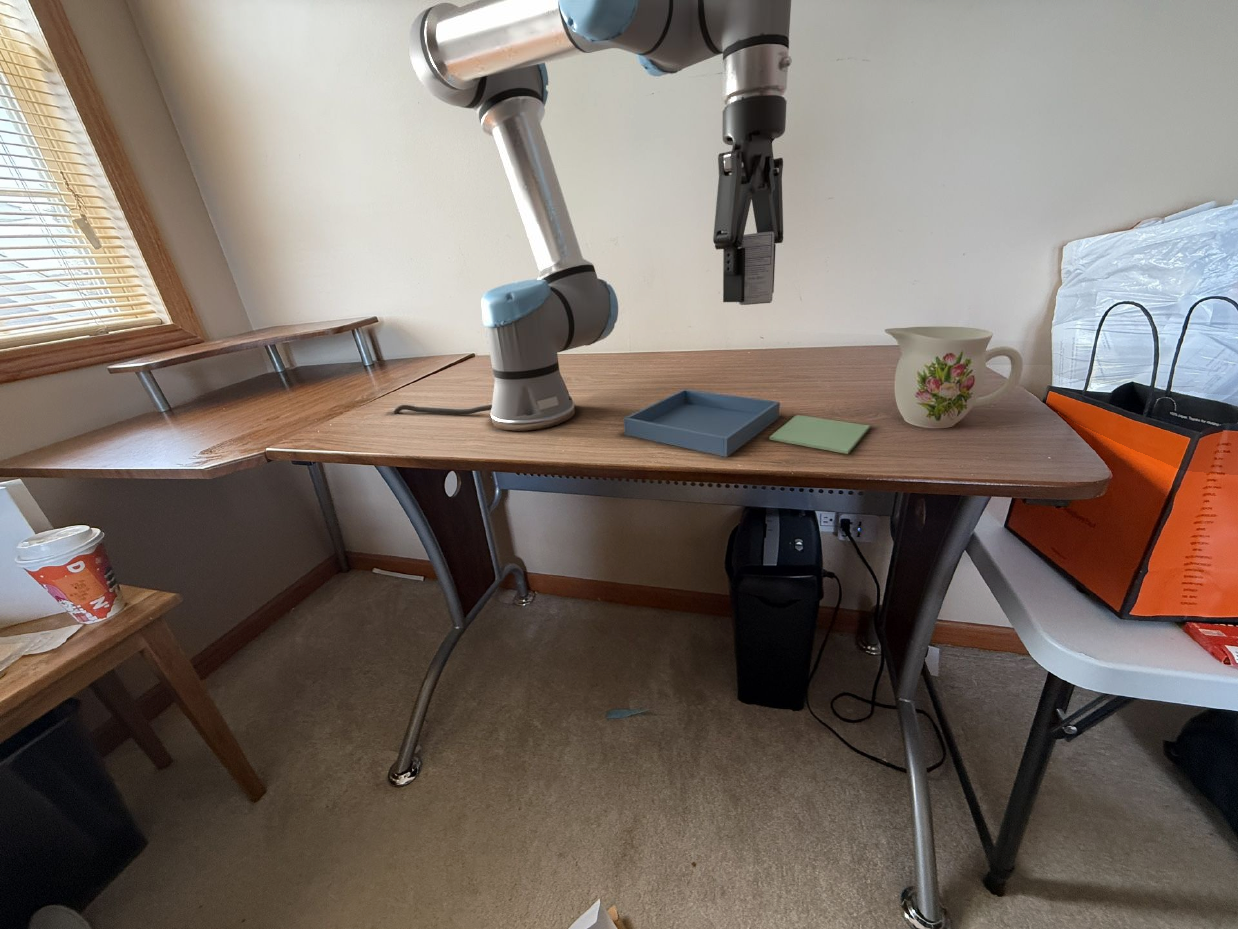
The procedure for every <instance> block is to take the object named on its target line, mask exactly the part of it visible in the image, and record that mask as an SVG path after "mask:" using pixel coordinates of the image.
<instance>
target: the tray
mask: <svg viewBox="0 0 1238 929" xmlns="http://www.w3.org/2000/svg"><path fill="white" fill-rule="evenodd" d="M780 406H781V401H777V400H770V399H761V398H755V397H748V396H739V395H733V394H732V395H731V394H724V393H717V392H710V391H702V390H695V389H686V388H683V389H681V390H679V391H677V392H675V393H673V394H671V395H669V396H666V397H665V398H663V399H661V400H658V401H657V402H655V403H652V404H650V405H649V406H646V407H644V408H642V409H640V410H638V411H635V412H634V413H631V414H630V415H628V416H625V417H623V428H624V436H628V437H632V438H638V439H643V440H646V441H651V442H657V443H661V444H665V445H669V446H675V447H680V448H683V449H688V450H693V451H698V452H702V453H706V454H711V455H716V456H721V457H725V458H728V457H729V456H731V455H732V454H733V453H735V452H736V451H738V449H740V448H741V447H742V446H744V445H745V444H746V443H748V442H749V441H751V440H752V439H753V438H754V437H756V436H757V435H759V433H761V432H763V431H764V430H765V429H766V428H767V427H769V426H770V425H772V424H773V423H775V422H776V421H777V420H778V419H779V418H780Z"/></svg>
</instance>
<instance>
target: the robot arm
mask: <svg viewBox="0 0 1238 929" xmlns="http://www.w3.org/2000/svg"><path fill="white" fill-rule="evenodd" d="M791 10H792V0H475V1H473V2H470V3H467V4H465V5H461V6H458V5H456V4H453V3H451V2H441V3H438V4H435V5H432V6H430V7H428V8H426V9H424V10H422V11H421V12H420V13H419V14H418V15H417V17H415V18H414V20H413V22H412V24H411V27H410V30H409V33H408V41H407V42H408V53H409V59H410V62H411V65H412V68H413V70H414V72H415V74H416V77H417V78H418V79H419V81H420V82H421V84H422V86H423V87H424V88H425V89H427V91H428V92H429V93H430V94H431V95H432V96H434V97H435V98H436V99H438V100H439V101H441V102H443V103H446V104H448V105H451V106H453V107H460V108H463V109H464V108H465V109H469V110H474V111H475V112H476V115H477V117H478V120H479V123H480V126H481V129H482V131H483V132H484V133H485V135H487V136H488V137H490V138H493V139H494V142H495V143H496V146H497V150H498V152H499V155H500V156H499V157H500V159H501V162H502V165H503V168H504V170H505V171H504V172H505V174H506V178H507V179H508V183H509V185H510V189H511V191H512V195H513V197H514V199H515V200H514V201H515V203H516V207H517V210H518V213H519V216H520V218H521V221H522V224H523V228H524V230H525V233H526V236H527V239H528V242H529V246H530V248H531V252H532V254H533V257H534V260H535V263H536V266H537V269H538V276H537V278H536V279H527V280H526V279H525V280H521V281H517V282H511V283H505V284H503V285H499V286H497V287H494V288H492V289H489V290H487V291H486V292H485V293H484V294H483V296H482V297H481V299H480V301H481V302H480V305H481V316H482V319H481V320H482V324H483V326H484V331H485V336H486V342H487V346H488V351H489V352H488V353H489V358H490V363H491V368H492V374H493V378H494V387H493V393H492V401H491V404H487V405H481V406H477V407H471V408H463V409H462V408H460V409H459V408H445V407H444V408H443V407H430V406H429V407H427V406H415V405H411V404H410V405H409V404H401V405H398V406H397V407H395V409H393V411H392V414H393V415H397V414H399V413H400V412H401V411H411V412H415V413H416V412H417V413H432V414H445V415H447V414H448V415H471V414H477V413H480V412H486V411H490V418H491V423H492V426H494V427H495V428H498V429H501V430H505V431H515V432H519V431H521V432H522V431H533V430H540V429H546V428H551V427H553V426H557V425H559V424H562V423H565V422H567V421H569V419H571V418H572V417H573V416H575V413H576V410H575V403H574V400H573V398H572V396H571V395H570V393H569V389H568V387H567V386H566V382H565V381H564V378H563V376H562V374H561V372H560V371H561V370H560V364H559V356H558V353H561V352H566V351H569V350H573V349H577V348H580V347H584V346H585V347H586V346H587V347H588V346H591V345H593V344H595V343H598V342H600V341H602V340H604V339H606V338H607V337H609V336H610V335H611V333H612V332H613V331H614V329H615V326H616V323H617V322H618V318H619V317H618V316H619V301H618V297H617V293H616V292H615V289H614V287H613V286H612V285H611V284H610V283H608V282H607V281H606V280H604V279H601V278H598V274H597V272H596V268H595V265H594V263H592V262H591V261H588V260H587V259H585V257H583V254H582V250H581V248H580V245H579V241H578V238H577V234H576V232H575V229H574V225H573V222H572V218H571V216H570V214H569V209H568V207H567V204H566V203H567V202H566V200H565V197H564V194H563V190H562V187H561V184H560V180H559V178H558V174H557V172H556V169H555V165H554V163H553V159H552V155H551V153H550V149H549V146H548V143H547V140H546V137H545V133H544V130H543V127H542V125H541V123H542V121H543V119H544V116H545V113H546V109H545V106H546V104H547V100H548V96H549V91H548V90H547V86H548V85H549V75H548V70H547V66H546V63H549V62H553V61H558V60H562V59H567V58H571V57H576V56H580V55H585V54H592V53H597V52H601V51H604V50H611V49H619V50H621V51H626V52H628V53H632V54H634V55H635V56H636V59H637V61H638V63H639V64H640V66H642V67H643V68H644V70H645V72H646V73H647V74H648V75H650V76H652V77H662V76H666V75H669V74H670V75H673V74H677V73H678V72H681V71H683V69H686V68H689V67H691V66H694V65H697V64H699V63H702V62H704V61H706V60H709V59H711V58H714V57H717V56H720V55H722V90H721V91H722V95H721V96H722V98H721V100H722V103H723V104H725V105H726V106H724V108H723V110H722V132H721V133H722V136H721V137H722V138H721V139H722V141H723V143H724V144H725V145H727V146H732V147H731V150H729V151H726V152H721V153H718V156H717V166H718V184H717V191H716V192H717V193H716V194H717V195H716V202H715V213H714V214H715V215H714V223H713V224H714V226H713V235H712V236H713V237H712V242H713V244H714V248H715V250H717V251H718V250H722V251H723V253H722V254H723V255H722V270H723V271H722V277H723V278H722V303H736V302H744V290H745V248H740V247H741V245H742V241H743V236H744V235H745V230H746V226H747V221H748V218H749V212H750V209H751V208H750V207H751V205H752V211H753V217H754V222H755V229H756V230H755V231H756V233H762V232H773V233H774V258H773V294H774V292H775V269H776V246H777V245H776V244H782V243H783V242H784V207H783V205H784V204H783V170H784V159H783V157H778V158H774V151H773V150H774V149H773V142H774V141H775V140H776V139H779V138H780V137H782V136H783V135H784V134H785V132H786V124H787V122H786V121H787V104H788V103H787V102H788V101H787V100H786V98H785V97H784V95H785V94H786V92H787V90H788V69H789V68H788V67H790V66H791V65H792V62H793V60H792V57H791V55H789V50H790V28H791V26H790V25H791V12H792V11H791Z"/></svg>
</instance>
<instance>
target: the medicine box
mask: <svg viewBox="0 0 1238 929" xmlns="http://www.w3.org/2000/svg"><path fill="white" fill-rule="evenodd" d="M740 248H745V290H744V302H735V303H736V304H738V305H741V306H749V305H759V304H771V303H772V302H773V296H774V293H773V258H774V233H773V232H762V233H757V232H755V233H748V234H746V233H745V234H744V236H743V241H742V245H741V247H740Z"/></svg>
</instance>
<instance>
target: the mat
mask: <svg viewBox="0 0 1238 929" xmlns="http://www.w3.org/2000/svg"><path fill="white" fill-rule="evenodd" d="M870 427H871V426H870V425H868V424H861V423H854V422H849V421H843V420H842V421H841V420H834V419H827V418H820V417H814V416H807V415H800V414H796V415H795V416H793V417H792V418H791V419H790V420H789V421H787V422H786V423H785V424H783V425H782V426H781V427H779V428H778V429H777V430H776V431H774V432H773V433H772V434H771V435H770V436H769V437H768V438H769V439H768V440H769V441H775V442H780V443H786V444H789V445H790V444H791V445H795V446H802V447H808V448H812V449H818V450H823V451H830V452H834V453H840V454H845V455H848V454H849V453H850V452H851V451H852V450H853V448H855V446H856V445H857V444H858V443H859V441H860V440H861V439H862V438H863V437H864V436H865V435H866V433H867V432H868V431H869V430H870Z"/></svg>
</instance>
